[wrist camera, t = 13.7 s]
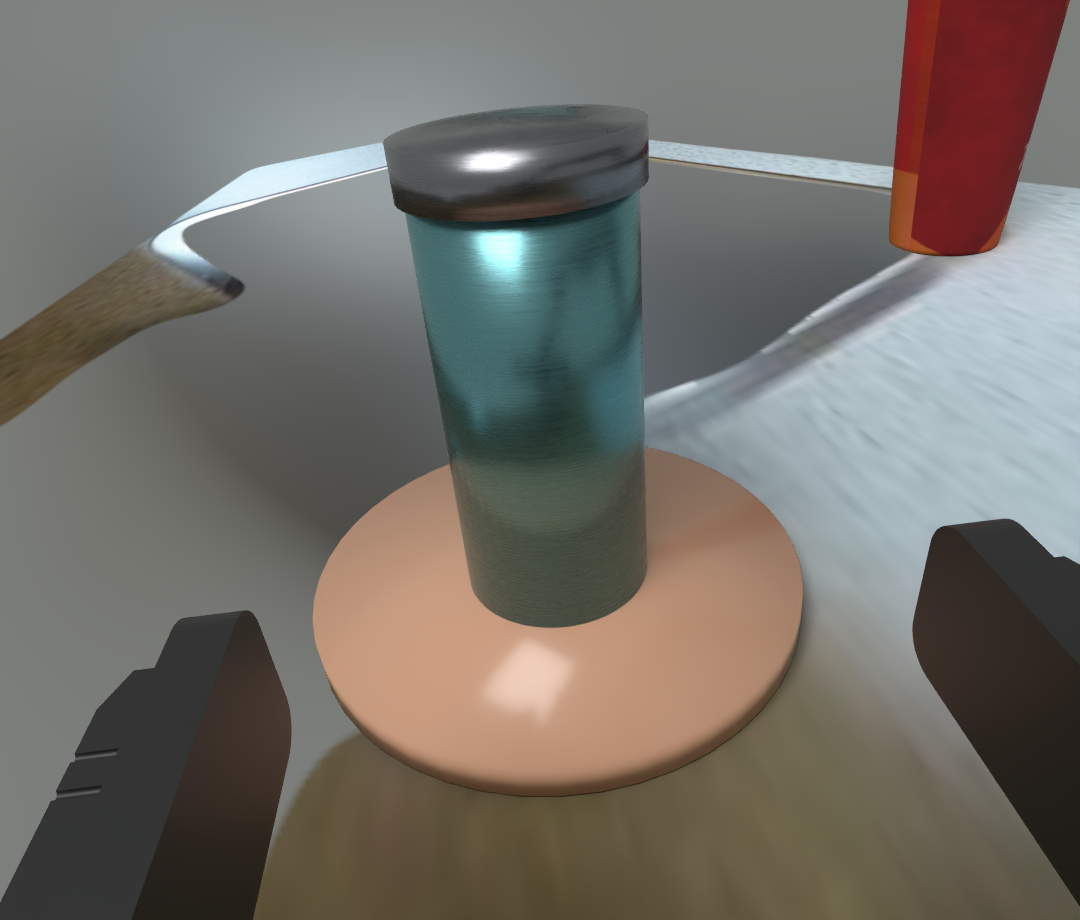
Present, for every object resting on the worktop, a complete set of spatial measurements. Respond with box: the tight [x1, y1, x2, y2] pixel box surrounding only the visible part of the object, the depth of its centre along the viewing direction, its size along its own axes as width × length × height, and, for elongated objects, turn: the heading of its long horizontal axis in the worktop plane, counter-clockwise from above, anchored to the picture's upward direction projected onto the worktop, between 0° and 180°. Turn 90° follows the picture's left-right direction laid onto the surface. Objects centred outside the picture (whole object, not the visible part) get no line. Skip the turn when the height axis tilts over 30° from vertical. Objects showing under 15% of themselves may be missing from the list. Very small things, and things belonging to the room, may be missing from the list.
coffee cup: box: [889, 0, 1070, 256], centre depth 43 cm, size 8×8×15 cm
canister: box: [383, 104, 649, 628], centre depth 20 cm, size 6×6×12 cm
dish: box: [313, 447, 803, 796], centre depth 23 cm, size 14×14×1 cm
